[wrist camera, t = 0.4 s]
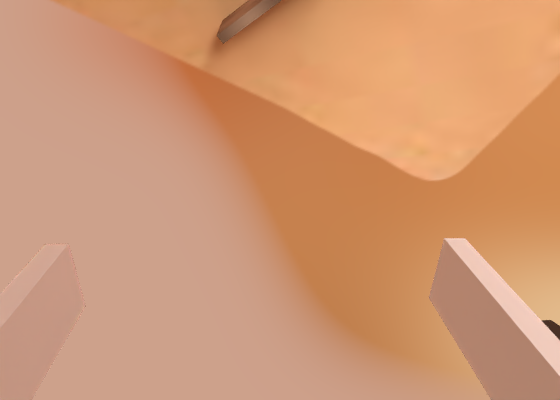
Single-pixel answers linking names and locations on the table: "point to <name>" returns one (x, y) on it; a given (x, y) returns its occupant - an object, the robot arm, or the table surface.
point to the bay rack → (243, 17)
